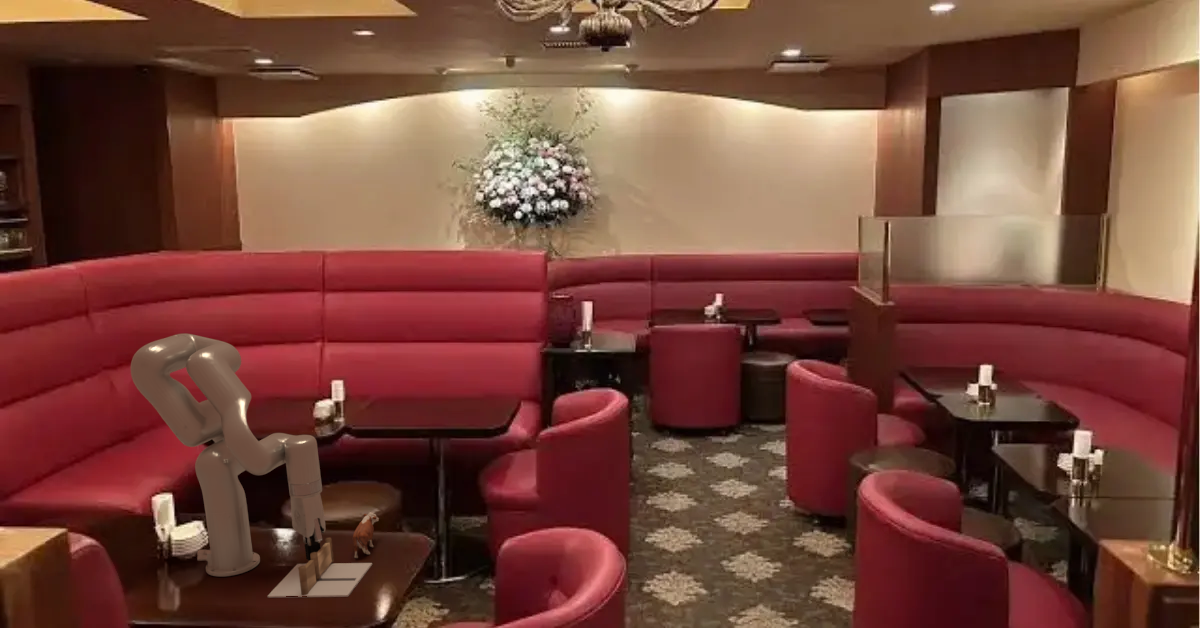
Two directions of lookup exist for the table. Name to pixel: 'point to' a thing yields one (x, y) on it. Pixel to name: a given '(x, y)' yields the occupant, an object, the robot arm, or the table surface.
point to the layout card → (324, 581)
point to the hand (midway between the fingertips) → (314, 558)
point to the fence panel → (323, 557)
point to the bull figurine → (364, 533)
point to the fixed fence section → (307, 577)
